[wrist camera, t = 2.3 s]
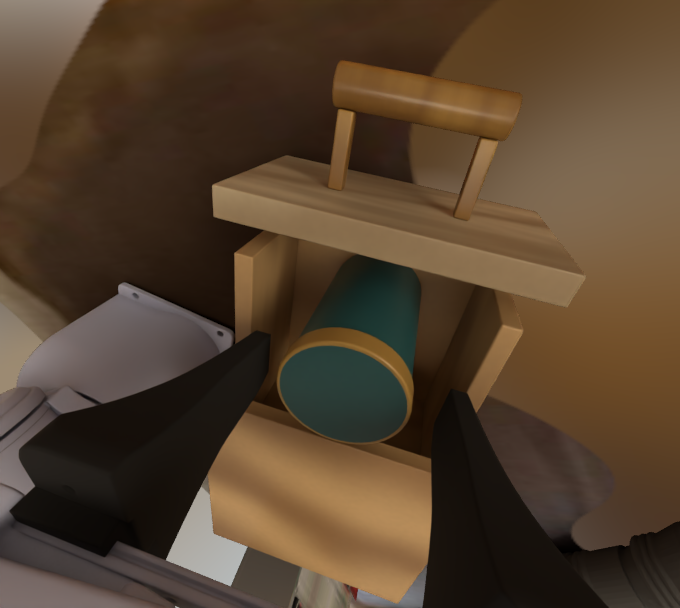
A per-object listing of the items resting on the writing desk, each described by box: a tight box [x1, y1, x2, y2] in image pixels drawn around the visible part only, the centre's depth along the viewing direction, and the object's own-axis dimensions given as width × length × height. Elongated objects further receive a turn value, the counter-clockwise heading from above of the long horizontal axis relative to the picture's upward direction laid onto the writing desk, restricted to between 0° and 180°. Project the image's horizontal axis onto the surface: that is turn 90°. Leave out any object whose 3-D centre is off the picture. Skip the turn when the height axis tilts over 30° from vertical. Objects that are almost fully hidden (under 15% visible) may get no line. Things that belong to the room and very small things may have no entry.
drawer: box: [212, 60, 586, 458], centre depth 16 cm, size 18×12×7 cm
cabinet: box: [208, 401, 432, 604], centre depth 24 cm, size 15×14×9 cm
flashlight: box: [562, 522, 680, 608], centre depth 25 cm, size 15×5×5 cm, turn 143°
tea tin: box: [277, 254, 421, 444], centre depth 16 cm, size 5×5×8 cm
